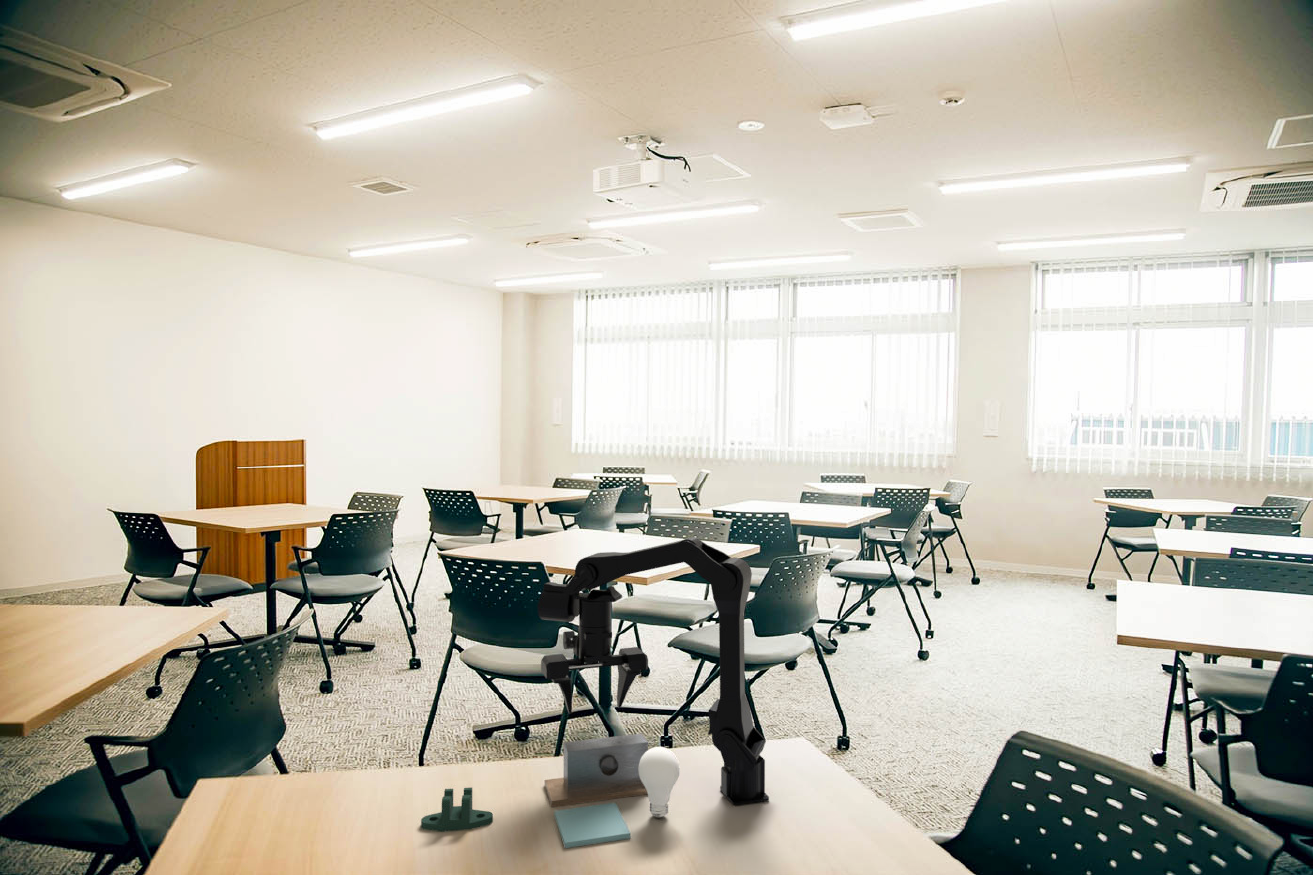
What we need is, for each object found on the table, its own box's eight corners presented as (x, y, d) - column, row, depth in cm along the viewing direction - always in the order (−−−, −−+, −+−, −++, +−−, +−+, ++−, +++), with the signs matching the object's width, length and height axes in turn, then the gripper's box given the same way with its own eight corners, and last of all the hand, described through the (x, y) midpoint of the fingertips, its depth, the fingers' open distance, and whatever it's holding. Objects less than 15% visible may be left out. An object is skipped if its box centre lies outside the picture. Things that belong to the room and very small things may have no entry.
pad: (615, 807, 126) (615, 802, 126) (630, 838, 116) (630, 832, 116) (554, 815, 123) (554, 810, 123) (564, 848, 113) (564, 842, 113)
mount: (493, 815, 123) (493, 784, 123) (491, 829, 119) (491, 797, 119) (423, 820, 122) (423, 788, 122) (418, 834, 118) (419, 802, 118)
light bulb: (675, 829, 119) (675, 758, 119) (634, 825, 120) (634, 755, 120) (682, 809, 125) (683, 741, 125) (643, 805, 127) (643, 738, 126)
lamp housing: (654, 771, 139) (654, 727, 139) (667, 791, 131) (667, 744, 131) (544, 785, 133) (544, 739, 133) (551, 807, 126) (551, 758, 126)
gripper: (630, 610, 150) (630, 690, 150) (535, 617, 143) (535, 701, 143) (649, 623, 139) (648, 709, 139) (547, 632, 133) (547, 722, 133)
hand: (594, 709), depth 139 cm, fingers open, 9 cm apart
